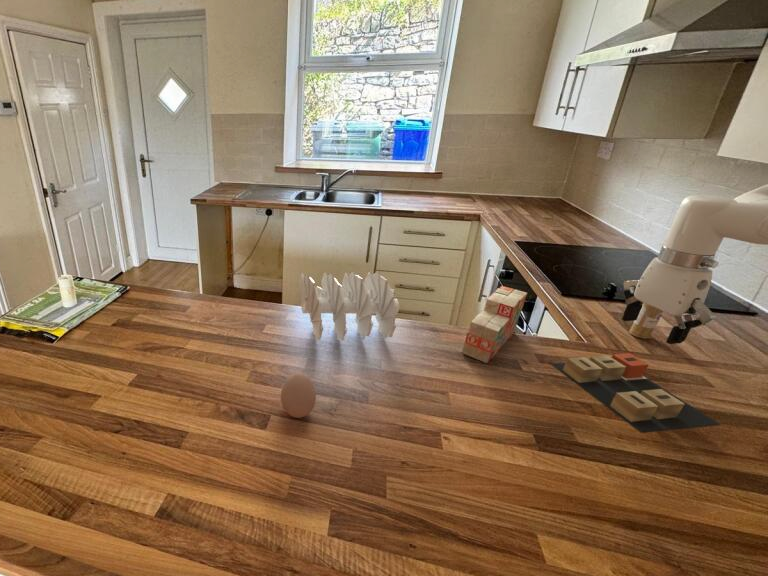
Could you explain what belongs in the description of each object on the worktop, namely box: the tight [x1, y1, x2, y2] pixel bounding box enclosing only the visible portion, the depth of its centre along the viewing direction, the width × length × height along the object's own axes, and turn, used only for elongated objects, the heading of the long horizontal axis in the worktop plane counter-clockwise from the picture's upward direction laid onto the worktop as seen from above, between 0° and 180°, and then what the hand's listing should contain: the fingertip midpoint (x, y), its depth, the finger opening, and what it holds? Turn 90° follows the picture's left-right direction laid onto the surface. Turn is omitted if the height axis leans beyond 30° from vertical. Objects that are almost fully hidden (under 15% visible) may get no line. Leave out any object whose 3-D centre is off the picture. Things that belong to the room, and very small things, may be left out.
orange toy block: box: [611, 352, 650, 378], centre depth 92 cm, size 4×4×4 cm
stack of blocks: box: [461, 285, 528, 364], centre depth 102 cm, size 21×6×12 cm, turn 135°
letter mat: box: [550, 362, 722, 434], centre depth 87 cm, size 18×22×1 cm
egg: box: [280, 372, 317, 419], centre depth 78 cm, size 7×7×10 cm
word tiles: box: [563, 354, 684, 422], centre depth 86 cm, size 10×16×4 cm, turn 7°
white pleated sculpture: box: [298, 270, 400, 341], centre depth 104 cm, size 18×18×25 cm
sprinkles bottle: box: [628, 302, 664, 340], centre depth 107 cm, size 5×5×14 cm
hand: (650, 331), depth 88 cm, fingers open, 9 cm apart
